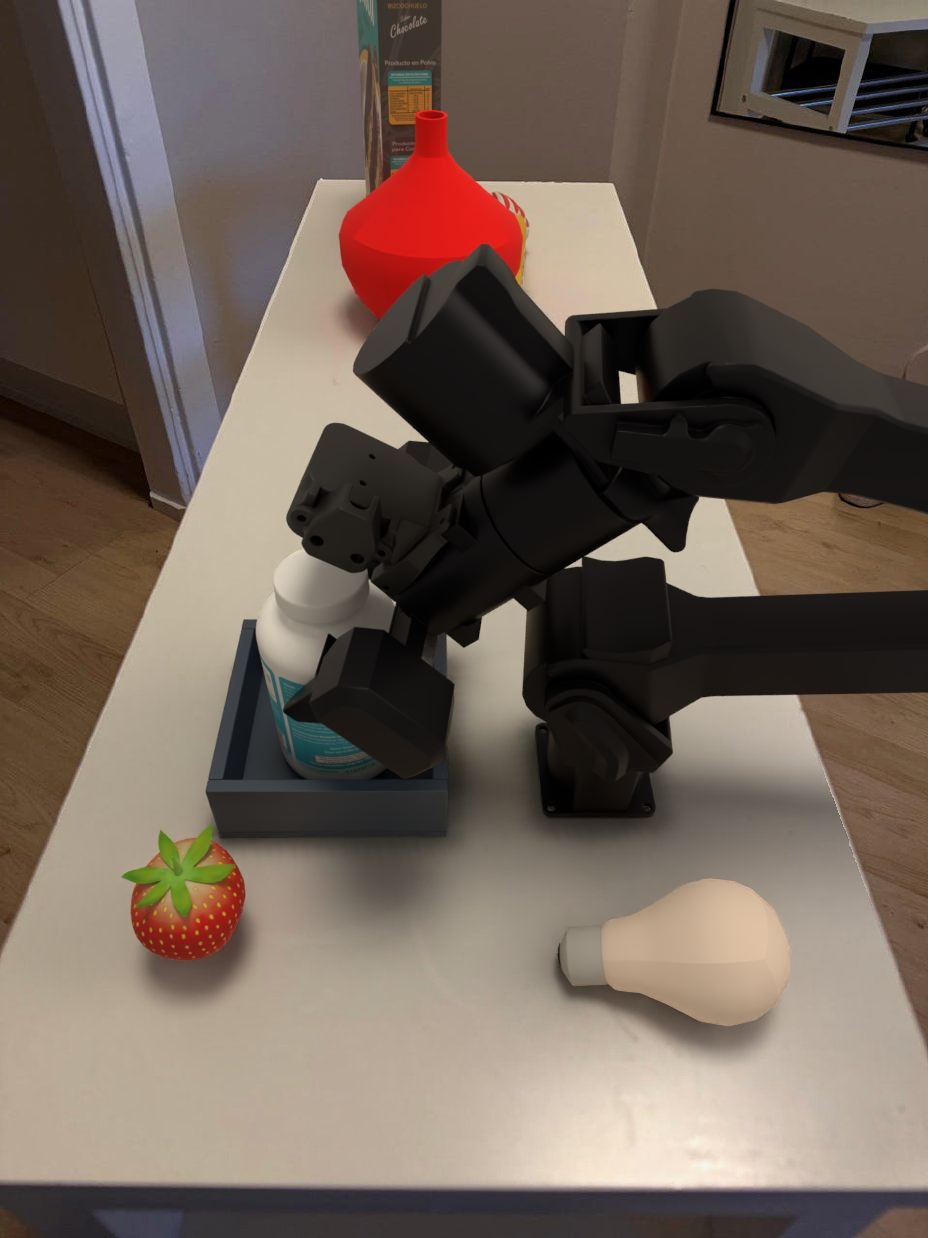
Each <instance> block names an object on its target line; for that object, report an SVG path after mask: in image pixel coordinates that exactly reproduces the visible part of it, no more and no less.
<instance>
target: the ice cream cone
mask: <svg viewBox="0 0 928 1238" xmlns="http://www.w3.org/2000/svg"><path fill="white" fill-rule="evenodd" d="M490 194H491V195H492V196H493V197H495V198H496V199H497V200H498V201H499V202H501V203H502V204H503V205H504V206H505V207H507V208H508V209H509V210H510V211H512V212H513V213H514V214H515V216H516V218H517V220H518V222H519V224H520V228H521V231H522V235H523V245H522V255H521V264H520V269H519V271H518V273H517V275H516V277H515V278H516V280H517V282H518V284H519V285H520V287H521V288H522V282H523V273H524V263H525V251H526V244H527V243H526V241H527V239H528V237H529V234H530V227H531V226H530V223H529V220H528V218H527V216H526V214H525V211H524V210H523V208H521V206H519V204H518V203H517V202H516V201H515V199H513V198H511V197H510V196H508V195H506V194H504V193H502V192H500V191H492V192H490Z"/></svg>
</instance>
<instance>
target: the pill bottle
mask: <svg viewBox="0 0 928 1238" xmlns="http://www.w3.org/2000/svg"><path fill="white" fill-rule="evenodd" d="M272 578H273V579H272V584H273V585H272V586H273V590H274V591H273V592H272V593H271V594H270V595H269V596H268V597H267V599H266V600H265V601H264V603H263V605H262V606H261V608H260V611H259V613H258V614H257V618H256V619H257V623H256V640H257V644H258V649H259V653H260V657H261V662H262V666H263V671H264V675H265V679H266V684H267V688H268V692H269V697H270V701H271V705H272V710H273V714H274V719H275V723H276V728H277V732H278V736H279V740H280V744H281V748H282V752H283V754H284V757H285V759H286V760H287V762H288V763H289V765H290V766H291V767H292V768H293V770H295V771H296V772H297V773H298V774H299V775H300V776H302V777H304V778H305V779H307V780H370V779H372V778H374V777H376V776H378V775H379V774H381V773H382V772H384V771H385V770H386V769H387V767H385V766H384V765H382V764H381V763H380V762H378V761H377V760H375V759H374V758H372V757H371V756H369V755H368V754H366V753H365V752H363V751H362V750H360V749H359V748H357V747H356V746H354V745H353V744H351V743H350V742H348V741H347V740H345V739H344V738H342V737H341V736H339V735H338V734H336V733H335V732H333V731H332V730H330V729H329V728H327V727H326V726H324V725H323V724H321V723H307V722H297V721H295V720H293V719H292V718H290V717H289V716H287V715H286V714H284V713H283V708H284V705H285V704H286V703H287V702H288V701H289V700H290V699H291V698H292V697H293V696H294V695H295V694H296V693H297V692H298V691H299V690H300V689H302V688H303V687H304V686H305V685H306V684H307V683H308V682H310V681H311V680H312V679H313V678H314V677H315V672H316V669H317V666H318V663H319V659H320V656H321V653H322V650H323V647H324V644H325V641H326V637H327V635H328V634H331V635H332V636H333V637H335V638H336V639H338V638H339V637H340V636H341V635H343V634H344V633H346V632H347V631H349V630H350V629H352V628H354V627H362V628H372V629H382V630H385V631H386V632H389V628H390V624H391V620H392V616H393V612H394V608H395V604H394V601H393V600H392V599H390V598H389V597H388V596H387V595H386V594H385V593H384V592H382V591H381V590H380V589H379V588H377V587H376V586H375V585H374V584H372V583H371V582H370V581H371V580H370V579H368V571H367V569H366V570H365V571H363V572H358V573H349V572H347V571H344V570H342V569H340V568H338V567H335V566H333V565H331V564H328V563H326V562H324V561H321V560H319V559H317V558H314V557H312V556H310V555H308V554H307V553H306V552H305V550H304V548H300V549H298V550H297V551H294V552H292V553H291V554H289V555H287V556H286V557H284V558H283V560H282V561H280V563H279V564H278V565H277V567H276V568H275V570H274V573H273V577H272Z"/></svg>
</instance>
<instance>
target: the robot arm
mask: <svg viewBox="0 0 928 1238" xmlns="http://www.w3.org/2000/svg"><path fill="white" fill-rule="evenodd" d="M620 372H622V373H625V374H629V375H633V376H635V381H636V392H637V400H638V401H637V402H630V403H629V402H628V403H622V397H621V382H620ZM352 373H353V374H354V375H355V377H356V378H358V379H359V380H360V381H361V382H362V383H363V384H364V385H366V386H367V387H368V388H369V389H370V390H371V391H372V392H373V393H374V394H375V395H376V396H377V397H378V398H379V399H381V400H382V401H383V402H384V403H385V404H386V405H387V406H389V407H390V408H391V409H392V410H393V411H394V412H395V413H396V414H397V415H398V416H399V417H401V419H403V421H405V422H406V423H407V424H408V425H409V426H410V427H411V428H412V429H413V430H414V431H415V432H417V434H419V435H420V436H421V437H423V439H424V440H426V441H420V440H407V441H406V442H405V443H404V444H402V445H401V446H400V447H399V448H397V447H395V446H392V445H390V444H388V443H386V442H384V441H382V440H380V439H378V438H375V437H374V436H371V435H369V434H367V433H365V432H363V431H361V430H359V429H358V428H354V427H353V426H351V425H348V424H345V423H341V422H331V423H327V424H326V425H325V426H324V428H323V430H322V432H321V434H320V436H319V439H318V441H317V443H316V445H315V448H314V449H313V452H312V454H311V457H310V458H309V461H308V464H307V465H306V468H305V470H304V473H303V475H302V477H301V480H300V482H299V484H298V487H297V489H296V491H295V494H294V496H293V498H292V501H291V503H290V506H289V508H288V509H287V512H286V516H285V522H286V524H287V526H288V528H289V529H290V530H291V531H292V532H293V533H294V534H295V535H296V536H298V537H300V538H302V539H301V542H300V545H301V547H302V549H304V550H305V552H306V553H307V554H308V555H310V556H312V557H314V558H317V559H319V560H321V561H324V562H326V563H328V564H331V565H333V566H335V567H338V568H340V569H342V570H344V571H347V572H349V573H358V572H363V571H365V570H366V569H367V571H368V579H370V580H371V581H370V582H371V583H372V584H374V585H375V586H376V587H377V588H379V589H380V590H381V591H382V592H384V593H385V594H386V595H387V596H388V597H389V598H390V599H391V600H392V601H393V603H395V604H394V606H395V608H394V612H393V616H392V620H391V624H390V628H389V632H386V631H385V630H382V629H372V628H362V627H354V628H352V629H350V630H349V631H347V632H346V633H344V634H343V635H341V636H340V637H339V638H338V639H336V638H335V637H333V636H332V635H331V634H328V635H327V637H326V641H325V644H324V647H323V650H322V653H321V656H320V659H319V663H318V666H317V669H316V672H315V677H314V678H313V679H312V680H311V681H310V682H308V683H307V684H306V685H305V686H304V687H303V688H302V689H300V690H299V691H298V692H297V693H296V694H295V695H294V696H293V697H292V698H291V699H290V700H289V701H288V702H287V703H286V704H285V705H284V708H283V713H284V714H286V715H287V716H289V717H290V718H292V719H293V720H295V721H297V722H307V723H321V724H323V725H324V726H326V727H327V728H329V729H330V730H332V731H333V732H335V733H336V734H338V735H339V736H341V737H342V738H344V739H345V740H347V741H348V742H350V743H351V744H353V745H354V746H356V747H357V748H359V749H360V750H362V751H363V752H365V753H366V754H368V755H369V756H371V757H372V758H374V759H375V760H377V761H378V762H380V763H381V764H382V765H384V766H385V767H387V768H388V769H390V770H391V771H393V772H394V773H396V774H397V775H399V776H400V777H402V778H403V779H407V778H410V777H412V776H415V775H417V774H419V773H421V772H423V771H425V770H427V769H430V768H432V767H434V766H436V765H438V764H440V763H442V762H444V761H445V756H446V750H447V744H449V737H450V731H451V724H452V718H453V714H454V713H453V712H454V706H455V694H456V693H455V689H456V687H455V685H456V684H455V683H454V682H453V681H451V680H450V679H449V678H448V677H447V678H446V677H445V676H444V675H442V674H441V673H440V672H438V671H437V670H436V669H435V668H433V663H434V658H435V653H436V647H437V642H438V637H439V635H441V634H443V633H445V634H447V637H449V638H450V639H451V640H453V641H454V642H455V643H457V644H458V645H459V646H460V647H462V649H465V648H467V647H469V646H470V645H472V644H474V643H475V642H477V641H479V640H480V634H481V629H482V622H483V617H484V616H486V615H488V614H490V613H491V612H493V611H494V610H496V609H498V608H500V607H501V606H503V605H505V604H506V603H508V602H510V601H512V600H514V601H516V602H517V603H518V604H519V605H520V606H521V607H522V608H524V609H525V610H526V615H525V631H524V633H525V634H524V648H523V649H524V651H523V652H524V653H523V669H522V685H521V686H522V688H521V696H522V699H523V701H524V704H525V707H526V708H527V709H528V710H529V711H530V712H531V713H532V714H533V716H534V717H536V718H538V719H540V720H541V721H543V722H539V723H537V724H536V726H534V727H535V728H534V742H535V751H536V762H537V772H538V773H537V774H538V784H539V794H540V805H541V812H542V814H543V816H544V817H546V818H549V819H649V818H652V817H654V815H655V813H656V810H657V806H656V805H657V804H656V800H655V795H654V790H653V785H652V780H651V776H650V774H654V773H655V772H656V771H657V770H659V769H660V767H662V766H663V764H664V763H666V762H667V760H669V759H670V758H671V757H672V756H673V753H674V747H673V738H672V737H673V736H672V728H671V716H673V715H674V714H676V713H678V712H680V711H681V710H683V709H684V708H687V707H688V706H690V705H691V704H694V703H695V702H697V701H698V700H700V699H703V698H711V697H712V698H713V697H753V696H755V697H757V696H762V697H763V696H807V695H808V696H811V695H812V696H815V695H816V696H817V695H818V696H819V695H869V694H870V695H873V694H874V695H875V694H928V589H917V590H916V589H915V590H914V589H913V590H888V591H887V590H886V591H883V590H882V591H860V592H859V591H857V592H830V593H829V592H828V593H827V592H826V593H802V594H800V593H799V594H797V593H796V594H771V595H768V594H767V595H740V596H713V597H712V596H711V597H709V596H708V597H707V596H699V595H696V594H695V595H694V594H693V593H690V592H688V591H686V590H684V589H682V588H679V587H677V586H676V585H673V584H670V583H669V582H667V573H666V564H665V561H664V560H663V559H662V558H658V557H652V556H640V557H634V558H628V559H622V560H621V559H620V560H605V559H599V558H598V559H597V558H594V557H591V556H588V555H590V554H591V553H593V552H595V551H596V550H598V549H600V548H602V547H603V546H605V545H607V544H608V543H610V542H612V541H614V540H615V539H617V538H618V537H621V536H622V535H624V534H625V533H627V532H628V531H631V530H632V529H633V528H635V527H637V526H639V525H641V524H642V525H644V527H646V528H647V530H649V531H650V532H651V533H652V534H653V536H655V538H656V539H657V540H658V541H659V542H660V543H662V545H664V546H665V548H666V549H667V550H669V551H670V552H671V553H681V552H683V551H684V550H685V548H686V546H687V537H688V529H689V524H690V520H691V518H692V517H691V515H692V514H693V511H694V509H695V508H696V505H697V504H698V502H699V500H700V498H708V499H716V500H717V499H718V500H726V501H736V502H737V501H738V502H747V503H756V504H766V505H779V504H783V503H787V502H788V503H789V502H791V501H795V500H799V499H802V498H806V497H809V496H813V495H817V494H821V493H829V494H837V495H838V494H839V495H847V496H848V495H850V496H854V497H858V498H863V499H867V500H871V501H875V502H879V503H882V504H887V505H890V506H893V507H898V508H901V509H906V510H911V511H914V512H918V513H921V514H925V515H928V385H927V384H923V383H918V382H916V381H911V380H907V379H904V378H901V377H897V376H894V375H889V374H885V373H883V372H880V371H878V370H877V369H874V368H872V367H870V366H868V365H866V364H864V363H862V362H860V361H858V360H857V359H855V358H854V357H852V356H851V355H849V354H847V353H846V352H845V351H843V350H842V349H841V348H840V347H838V346H837V345H835V344H834V343H833V342H831V341H830V340H828V339H827V338H826V337H824V336H823V335H821V333H819V332H818V331H816V330H815V329H813V328H812V327H810V326H809V325H807V324H806V323H804V322H801V321H800V320H798V319H796V318H794V317H792V316H790V315H787V314H785V313H783V312H781V311H780V310H778V309H776V308H773V307H771V306H770V305H767V304H765V303H763V302H761V301H760V300H758V299H755V298H754V297H751V296H749V295H747V294H745V293H742V292H739V291H737V290H728V289H720V288H707V289H700V290H695V291H693V292H692V294H690V296H688V297H686V298H685V299H682V300H681V301H678V302H676V303H674V304H672V305H670V306H668V307H666V308H665V307H664V308H653V309H651V308H650V309H640V310H639V309H638V310H625V311H623V310H622V311H611V312H598V313H585V314H583V313H582V314H573V315H572V314H571V315H569V316H568V317H567V318H566V319H565V321H564V334H563V332H562V331H561V330H560V329H559V327H557V326H556V324H554V323H553V321H552V320H551V319H550V318H549V317H548V316H547V315H546V313H545V312H544V311H543V310H542V309H541V308H540V307H539V306H538V305H537V303H536V302H535V301H534V300H533V299H532V298H531V297H530V295H528V294H527V293H526V291H525V290H524V288H522V286H521V287H520V285H519V284H518V282H517V280H516V278H515V276H514V274H513V273H512V271H511V269H510V268H509V266H508V265H507V264H506V262H505V261H504V260H503V259H502V258H501V257H500V256H499V255H498V253H497V252H496V251H495V250H494V249H493V248H492V247H491V246H490V245H489V244H480V245H479V246H478V247H477V248H476V249H475V250H474V251H473V252H472V253H471V254H470V255H469V256H467V257H466V258H465V259H464V260H463V261H462V262H461V261H458V260H455V261H452V262H449V263H447V264H446V265H444V266H442V267H441V268H439V269H438V270H436V271H435V272H434V273H432V274H431V275H430V276H429V277H428V276H427V275H426V274H423V275H422V276H421V277H419V278H418V279H417V280H416V281H415V282H414V283H413V284H412V285H411V286H410V287H409V288H408V289H407V290H406V291H405V292H404V293H403V294H402V295H401V296H400V297H399V298H398V299H397V300H396V302H395V303H394V304H393V305H392V306H391V307H390V308H389V310H388V311H387V312H386V313H385V314H384V316H383V317H382V318H381V319H379V320H378V321H377V323H376V325H374V327H373V329H372V330H371V331H370V333H369V334H368V336H367V337H366V339H365V341H364V342H363V344H362V345H361V346H360V348H359V351H358V353H357V355H356V356H355V359H354V361H353V366H352ZM579 560H581V566H579V565H578V566H572V567H570V566H571V565H573V564H574V563H576V562H578V561H579ZM542 731H544V732H542ZM550 807H551V808H553V810H551V809H549V808H550ZM645 807H646V808H648V809H645Z"/></svg>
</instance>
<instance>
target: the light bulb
mask: <svg viewBox="0 0 928 1238" xmlns="http://www.w3.org/2000/svg"><path fill="white" fill-rule="evenodd" d="M556 960H557V961H558V966H559V968H560V970H561V971H562V973H563V974H564V975H565V977H566V979H567V980H568V981H569V983H570V984H571V985H572V986H575V987H576V986H578V987H579V986H580V987H581V986H582V987H583V986H606V985H608V986H610V987H611V988H613V989H614V990H615V991H619V992H628V993H635V994H636V993H638V994H642V995H644V996H647V997H649V998H651V999H654V1000H656V1001H658V1002H660V1003H663V1004H665V1005H667V1006H669V1007H671V1008H673V1009H675V1010H677V1011H679V1012H681V1013H683V1014H685V1015H687V1016H688V1017H691V1018H693V1019H695V1020H697V1021H699V1022H701V1023H708V1024H713V1025H719V1026H723V1027H732V1026H736V1025H740V1024H744V1023H750V1022H753V1021H754V1022H755V1021H756V1020H758V1019H760V1018H761V1017H762V1016H764V1015H765V1014H766V1013H768V1012H769V1011H770V1010H772V1009H773V1008H775V1007H777V1004H778V1003H779V1001H780V999H781V997H782V996H783V994H784V992H785V990H786V988H787V986H788V982H789V980H790V979H789V978H790V976H791V970H792V946H791V944H790V941H789V938H788V935H787V934H786V931H785V928H784V926H783V924H782V923H781V920H780V918H779V916H778V914H777V911H776V909H775V908H774V907H773V906H772V905H771V904H769V902H767V901H766V900H765V899H763V898H762V896H760V895H759V894H758V893H757V892H756V891H754V890H753V889H752V888H750V887H748V886H746V885H743V884H741V883H739V882H737V881H734V880H727V879H720V878H719V879H718V878H711V877H708V878H703V879H698V880H695V881H691V882H687V883H684V884H682V885H681V886H679V887H677V888H676V889H674V890H673V891H671V892H669V893H667V894H666V895H665V896H663V897H661V898H660V899H659V900H656V901H655V902H654V903H651V904H650V905H648V906H646V907H645V908H642V909H640V910H638V911H637V912H635V913H633V914H630V915H629V914H628V915H625V916H624V915H623V916H620V917H614V918H610V919H608V920H607V921H606V922H605V923H604V924H603V926H602V925H600V924H599V925H598V924H597V925H596V924H595V925H579V926H568V927H567V928H566V930H565V932H564V934H563V937H562V938H561V941H560V942H559V943H558V947H557V953H556Z"/></svg>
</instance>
